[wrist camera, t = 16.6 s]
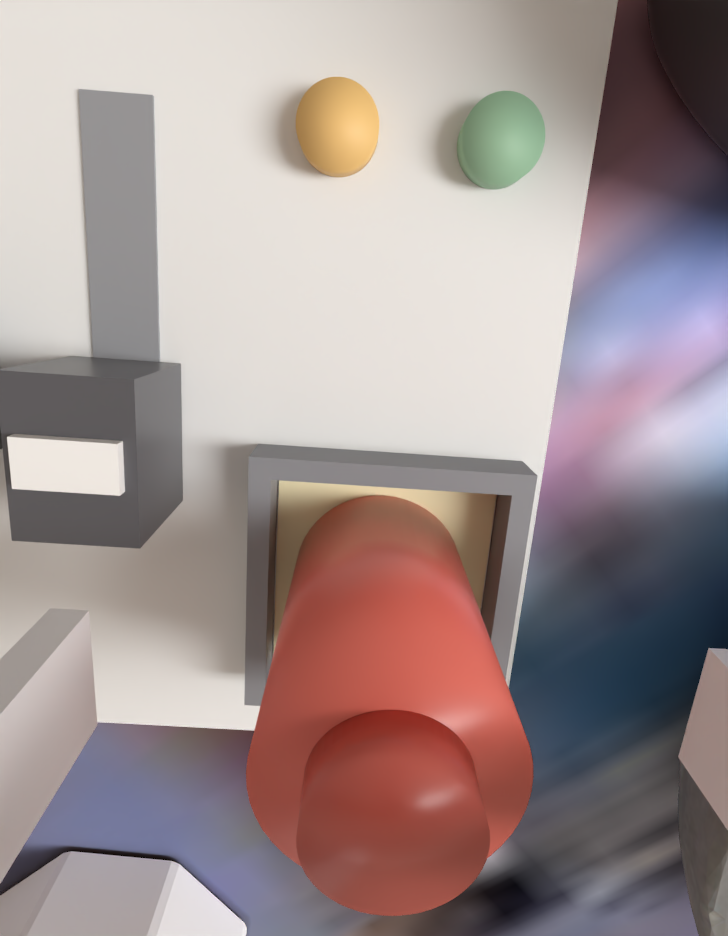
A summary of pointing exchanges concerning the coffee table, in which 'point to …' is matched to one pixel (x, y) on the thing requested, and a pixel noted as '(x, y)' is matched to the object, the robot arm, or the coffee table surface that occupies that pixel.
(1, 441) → the breaker
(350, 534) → the cap
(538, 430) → the panel
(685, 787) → the bowl
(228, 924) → the white canister
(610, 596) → the coffee table surface
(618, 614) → the coffee table surface
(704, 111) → the leaning round-cornered charcoal block
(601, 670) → the coffee table surface
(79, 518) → the breaker
